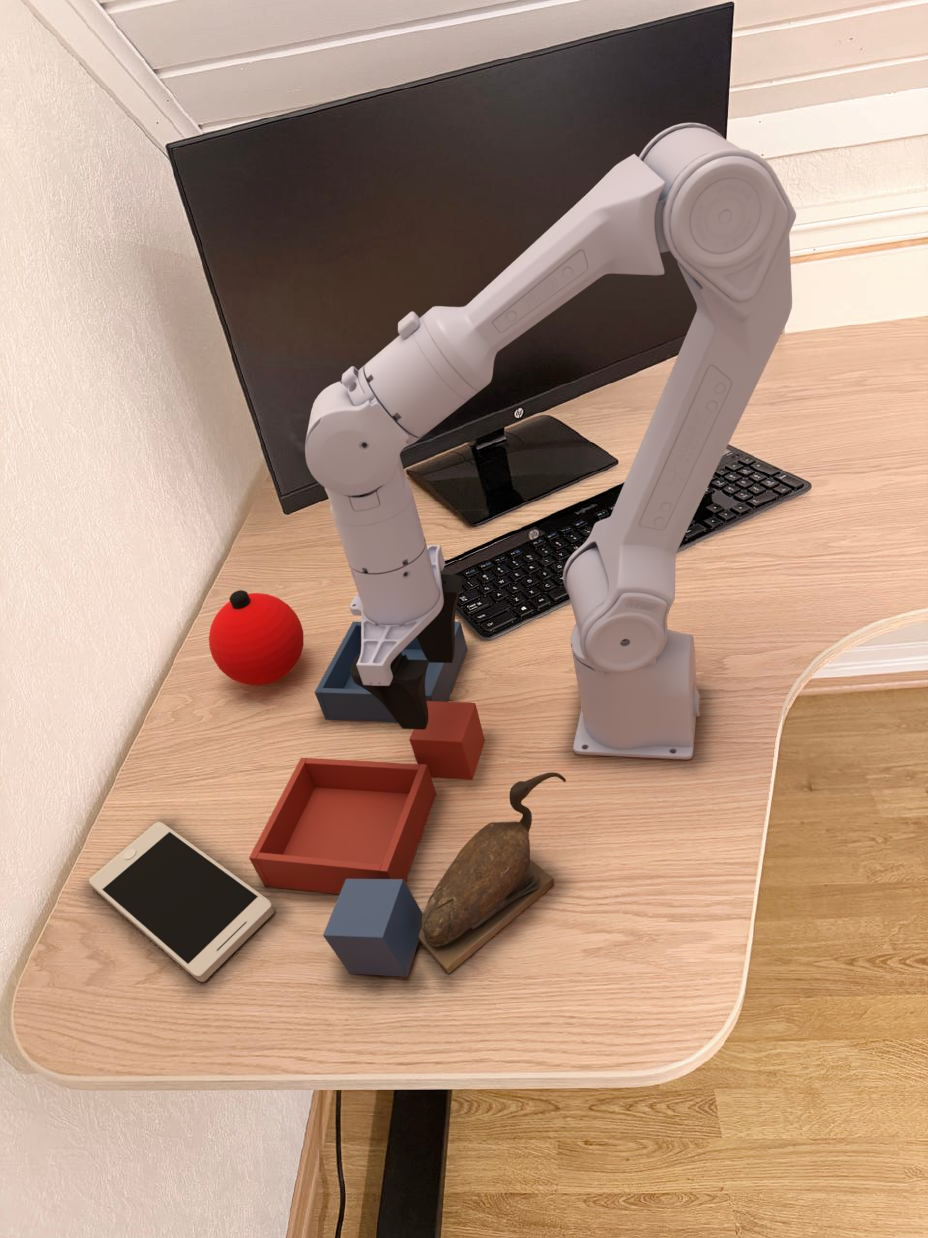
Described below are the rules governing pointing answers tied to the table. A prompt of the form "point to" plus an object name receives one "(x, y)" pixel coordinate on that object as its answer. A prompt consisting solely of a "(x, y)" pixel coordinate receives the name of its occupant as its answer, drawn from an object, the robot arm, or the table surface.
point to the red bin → (344, 824)
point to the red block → (449, 740)
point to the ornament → (256, 638)
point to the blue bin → (360, 705)
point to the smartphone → (182, 899)
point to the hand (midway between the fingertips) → (428, 691)
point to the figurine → (485, 885)
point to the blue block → (375, 927)
